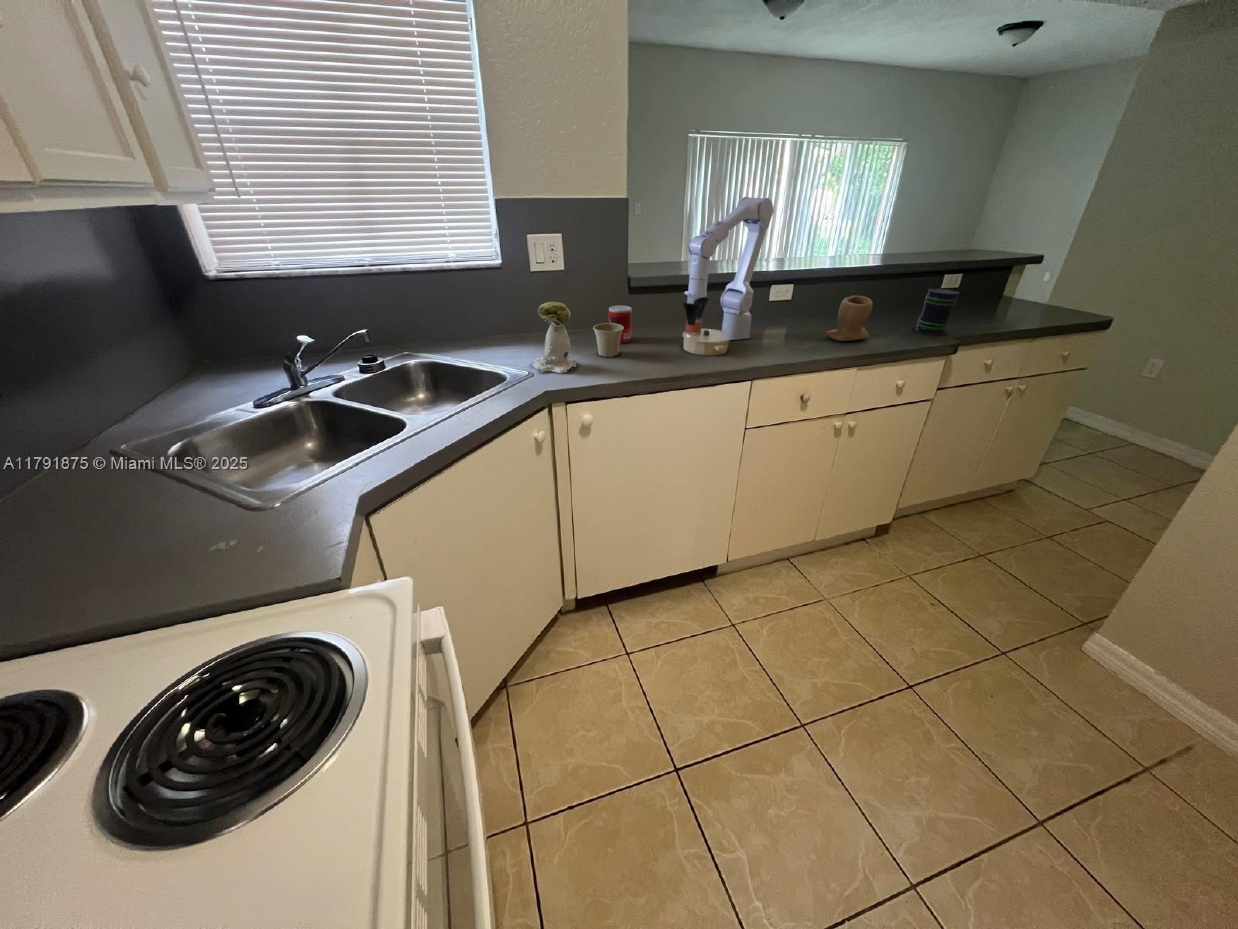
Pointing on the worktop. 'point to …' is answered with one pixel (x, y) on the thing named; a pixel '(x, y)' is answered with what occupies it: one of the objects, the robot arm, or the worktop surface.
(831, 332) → the brown clay vase
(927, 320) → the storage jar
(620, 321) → the canned food
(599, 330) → the flower pot
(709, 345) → the pot
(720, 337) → the pot lid
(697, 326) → the tin can
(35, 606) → the worktop surface
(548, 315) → the mossy mushroom figurine
